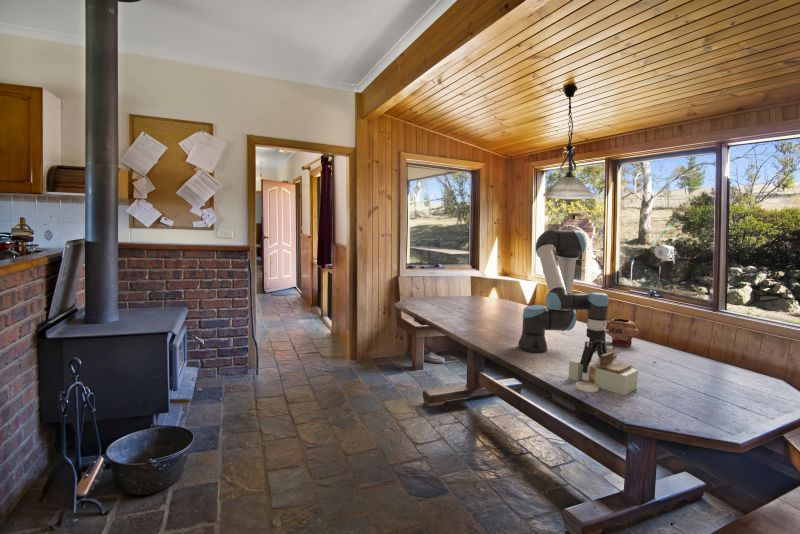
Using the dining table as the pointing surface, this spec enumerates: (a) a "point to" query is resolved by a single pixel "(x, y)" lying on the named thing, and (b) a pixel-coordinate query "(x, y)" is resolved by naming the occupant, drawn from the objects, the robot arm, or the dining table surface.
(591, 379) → the maple block
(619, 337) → the decorative planter
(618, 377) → the pale green split block
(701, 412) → the dining table surface
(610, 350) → the game die
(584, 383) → the cream coaster
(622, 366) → the walnut cover
